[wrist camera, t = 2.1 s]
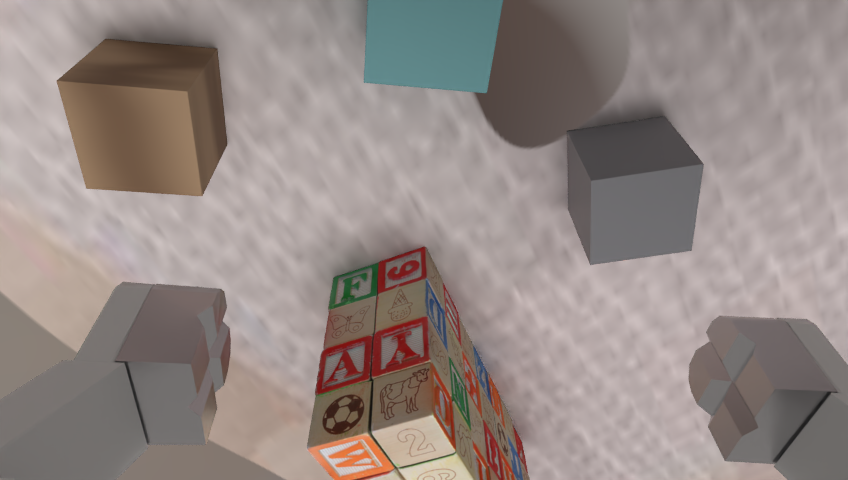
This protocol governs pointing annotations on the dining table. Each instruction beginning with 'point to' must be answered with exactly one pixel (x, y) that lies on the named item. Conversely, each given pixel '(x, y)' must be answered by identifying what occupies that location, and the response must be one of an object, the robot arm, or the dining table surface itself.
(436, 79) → the teal cube
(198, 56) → the walnut cube
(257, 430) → the dining table surface
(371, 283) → the stack of blocks
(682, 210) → the charcoal cube
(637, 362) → the dining table surface
